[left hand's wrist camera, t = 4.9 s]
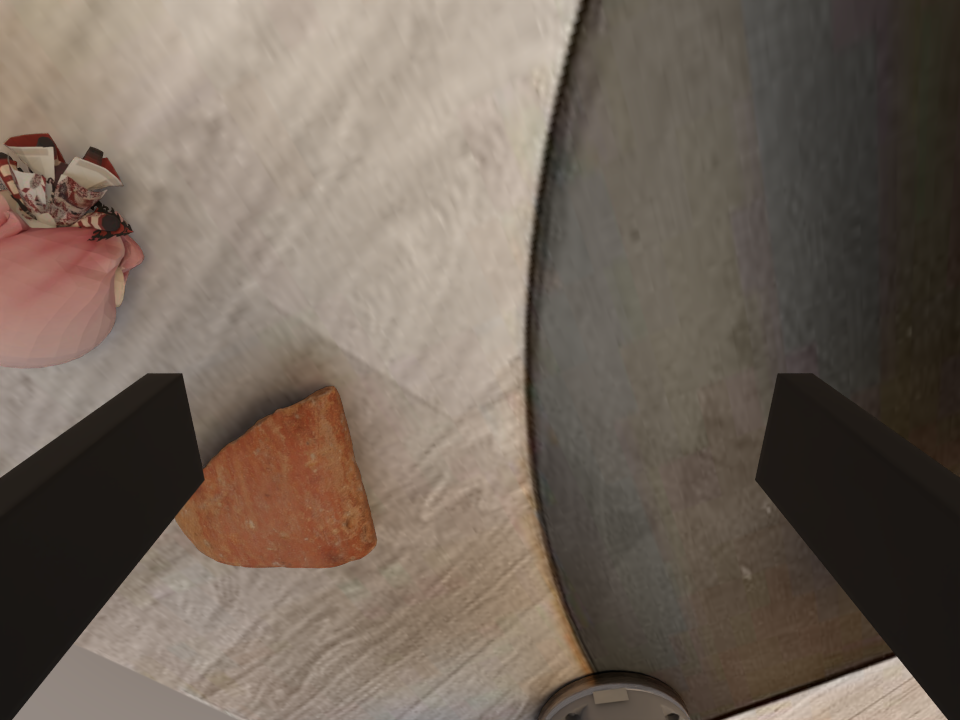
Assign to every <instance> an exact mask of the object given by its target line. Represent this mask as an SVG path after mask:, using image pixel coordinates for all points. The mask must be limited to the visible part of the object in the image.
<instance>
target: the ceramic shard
mask: <svg viewBox="0 0 960 720" xmlns="http://www.w3.org/2000/svg"><path fill="white" fill-rule="evenodd" d="M203 473H204V478H205V480H204V482H203V483H202V484H201V485H200V487H199V488H198V489H197V490H196V492H195V493H194V494H193V495H192V497H191V498H190V499H189V500H188V502H187V503H186V504H185V505H184V506H183V508H182V509H181V510H180V511H179V513H178V514H177V515H176V516H175V519H176V522H177V524H178V525H179V526H180V528H181V529H182V531H183V532H184V534H185V535H186V536H187V537H188V538H189V539H190V540H191V541H192V543H193V544H194V545H195V546H196V548H197V549H198V550H199V551H201V552H202V553H203V554H205V555H206V556H208V557H210V558H212V559H214V560H216V561H218V562H221V563H224V564H228V565H233V566H243V567H252V568H265V567H287V568H330V567H336V566H339V565H342V564H345V563H347V562H350V561H354V560H358V559H361V558H363V557H364V556H366V555H367V554H368V553H370V552H371V551H372V550H373V549H374V547H375V546H376V543H377V537H376V533H375V529H374V525H373V520H372V517H371V512H370V508H369V504H368V500H367V496H366V493H365V490H364V486H363V483H362V481H361V474H360V471H359V468H358V466H357V464H356V461H355V457H354V452H353V447H352V441H351V437H350V433H349V429H348V425H347V421H346V418H345V414H344V410H343V406H342V402H341V398H340V395H339V393H338V391H337V389H336V388H335V387H334V386H328V387H325V388H323V389H320V390H318V391H316V392H314V393H313V394H311V395H309V396H308V397H307V398H306V399H303V400H301V401H299V402H297V403H295V404H294V405H291V406H289V407H286V408H283V409H277V410H276V411H275V412H274V413H273V414H271V415H267V416H266V417H264V418H262V419H260V420H258V421H257V422H256V423H255V425H254V426H252V427H251V428H250V429H248V430H247V431H246V433H245V434H244V435H242V436H240V437H239V438H238V439H237V440H235V441H232V442H230V443H229V444H228V445H226V446H225V447H224V448H223V449H221V450H220V452H219V453H218V454H217V455H216V456H214V457H213V458H212V459H211V460H210V461H209V463H208V464H207V465H206V467H205V468H204V469H203Z"/></svg>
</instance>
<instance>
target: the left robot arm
mask: <svg viewBox="0 0 960 720" xmlns="http://www.w3.org/2000/svg"><path fill="white" fill-rule="evenodd" d="M204 480H205V478H204V473H203V469H202V464H201V459H200V455H199V450H198V445H197V441H196V436H195V431H194V426H193V422H192V417H191V412H190V408H189V403H188V398H187V394H186V389H185V384H184V379H183V375H182V373H147V374H146V375H145V376H143V377H142V378H140V379H139V380H138V381H136V382H135V383H133V384H132V385H131V386H129V387H128V388H126V389H125V390H123V391H122V392H121V393H119V394H118V395H116V396H115V397H114V398H112V399H111V400H109V401H108V402H107V403H105V404H104V405H102V406H101V407H100V408H98V409H97V410H95V411H94V412H92V413H91V414H90V415H88V416H87V417H85V418H84V419H83V420H81V421H80V422H78V423H77V424H76V425H74V426H73V427H71V428H70V429H68V430H67V431H66V432H64V433H63V434H61V435H60V436H59V437H57V438H56V439H54V440H53V441H52V442H50V443H49V444H47V445H46V446H45V447H43V448H42V449H40V450H39V451H37V452H36V453H35V454H33V455H32V456H30V457H29V458H28V459H26V460H25V461H23V462H22V463H21V464H19V465H18V466H16V467H15V468H13V469H12V470H11V471H9V472H8V473H6V474H5V475H4V476H2V477H1V478H0V720H12V719H13V718H14V717H15V715H16V714H17V713H18V712H19V710H20V709H21V708H22V707H23V705H24V704H25V703H26V702H27V701H28V699H29V698H30V697H31V696H32V694H33V693H34V692H35V691H36V689H37V688H38V687H39V686H40V684H41V683H42V682H43V681H44V679H45V678H46V677H47V676H48V674H49V673H50V672H51V671H52V669H53V668H54V667H55V666H56V664H57V663H58V662H59V661H60V659H61V658H62V657H63V656H64V654H65V653H66V652H67V651H68V649H69V648H70V647H71V646H72V645H73V643H74V642H75V641H76V640H77V638H78V637H79V636H80V635H81V633H82V632H83V631H84V630H85V628H86V627H87V626H88V625H89V623H90V622H91V621H92V620H93V618H94V617H95V616H96V615H97V613H98V612H99V611H100V610H101V608H102V607H103V606H104V605H105V604H106V602H107V601H108V600H109V599H110V597H111V596H112V595H113V594H114V592H115V591H116V590H117V589H118V587H119V586H120V585H121V584H122V582H123V581H124V580H125V579H126V577H127V576H128V575H129V574H130V572H131V571H132V570H133V569H134V567H135V566H136V565H137V564H138V562H139V561H140V560H141V559H142V557H143V556H144V555H145V554H146V553H147V551H148V550H149V549H150V548H151V546H152V545H153V544H154V543H155V541H156V540H157V539H158V538H159V536H160V535H161V534H162V533H163V531H164V530H165V529H166V528H167V526H168V525H169V524H170V523H171V521H172V520H173V519H174V518H175V516H176V515H177V514H178V513H179V511H180V510H181V509H182V508H183V506H184V505H185V504H186V503H187V502H188V500H189V499H190V498H191V497H192V495H193V494H194V493H195V492H196V490H197V489H198V488H199V487H200V485H201V484H202V483H203V482H204ZM755 480H756V482H757V483H758V484H759V485H760V487H761V488H762V489H763V490H764V492H765V493H766V494H767V495H768V497H769V498H770V499H771V500H772V502H773V503H774V504H775V505H776V506H777V508H778V509H779V510H780V511H781V513H782V514H783V515H784V516H785V518H786V519H787V520H788V521H789V523H790V524H791V525H792V526H793V528H794V529H795V530H796V531H797V533H798V534H799V535H800V536H801V538H802V539H803V540H804V541H805V543H806V544H807V545H808V546H809V548H810V549H811V550H812V551H813V553H814V554H815V555H816V556H817V557H818V559H819V560H820V561H821V562H822V564H823V565H824V566H825V567H826V569H827V570H828V571H829V572H830V574H831V575H832V576H833V577H834V579H835V580H836V581H837V582H838V584H839V585H840V586H841V587H842V589H843V590H844V591H845V592H846V594H847V595H848V596H849V597H850V599H851V600H852V601H853V602H854V604H855V605H856V606H857V607H858V608H859V610H860V611H861V612H862V613H863V615H864V616H865V617H866V618H867V620H868V621H869V622H870V623H871V625H872V626H873V627H874V628H875V630H876V631H877V632H878V633H879V635H880V636H881V637H882V638H883V640H884V641H885V642H886V643H887V645H888V646H889V647H890V648H891V650H892V651H893V652H894V653H895V654H896V656H897V657H898V658H899V659H900V661H901V662H902V663H903V664H904V666H905V667H906V668H907V669H908V671H909V672H910V673H911V674H912V676H913V677H914V678H915V679H916V681H917V682H918V683H919V684H920V686H921V687H922V688H923V689H924V691H925V692H926V693H927V694H928V696H929V697H930V698H931V699H932V701H933V702H934V703H935V704H936V705H937V707H938V708H939V709H940V710H941V712H942V713H943V714H944V715H945V717H946V718H947V719H948V720H960V478H959V477H958V476H956V475H955V474H954V473H952V472H951V471H949V470H948V469H947V468H945V467H944V466H942V465H941V464H939V463H938V462H937V461H935V460H934V459H932V458H931V457H930V456H928V455H927V454H925V453H924V452H923V451H921V450H920V449H918V448H917V447H915V446H914V445H913V444H911V443H910V442H908V441H907V440H906V439H904V438H903V437H901V436H900V435H899V434H897V433H896V432H894V431H893V430H892V429H890V428H889V427H887V426H886V425H884V424H883V423H882V422H880V421H879V420H877V419H876V418H875V417H873V416H872V415H870V414H869V413H868V412H866V411H865V410H863V409H862V408H860V407H859V406H858V405H856V404H855V403H853V402H852V401H851V400H849V399H848V398H846V397H845V396H844V395H842V394H841V393H839V392H838V391H837V390H835V389H834V388H832V387H831V386H829V385H828V384H827V383H825V382H824V381H822V380H821V379H820V378H818V377H817V376H815V375H814V374H813V373H778V375H777V379H776V384H775V389H774V394H773V398H772V403H771V408H770V412H769V417H768V422H767V426H766V431H765V436H764V441H763V445H762V450H761V455H760V459H759V464H758V469H757V473H756V478H755ZM538 720H690V717H689V714H688V711H687V709H686V706H685V704H684V702H683V700H682V699H681V697H680V696H679V695H678V694H677V693H676V692H675V691H674V690H673V689H672V688H671V687H669V686H668V685H666V684H664V683H663V682H661V681H659V680H657V679H654V678H651V677H649V676H645V675H641V674H636V673H627V672H610V673H602V674H596V675H592V676H588V677H585V678H582V679H579V680H577V681H575V682H573V683H571V684H569V685H567V686H565V687H564V688H562V689H561V690H559V691H558V692H556V693H555V694H554V695H553V696H552V697H551V698H550V699H549V700H548V701H547V702H546V704H545V705H544V707H543V708H542V710H541V712H540V714H539V717H538Z"/></svg>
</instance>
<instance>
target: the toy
mask: <svg viewBox="0 0 960 720" xmlns="http://www.w3.org/2000/svg"><path fill="white" fill-rule="evenodd" d="M4 145H5V146H7V147H8V148H10V149H11V150H12V151H13V152H14V153H15V154H16V155H17V156H18V157H19V158H20V159H21V160H22V161H23V162H24V163H25V164H26V165H27V166H28V168H29V171H30V173H25V172H23V171H22V169H21V168H17V162H16V161H13V160H12V158H11V157H10V156H9V154H8V155H7V154H5V153H2V152H0V180H1V182H2V183H3V185H4V186H5V187H6V188H7V189H8V190H1V191H0V366H4V367H13V368H42V367H47V366H53V365H59V364H63V363H66V362H69V361H71V360H74V359H77V358H79V357H81V356H83V355H84V354H86V353H88V352H89V351H91V350H92V349H94V348H95V347H96V346H98V345H99V344H100V343H101V342H102V341H103V340H104V339H105V338H106V336H107V335H108V334H109V333H110V332H111V330H112V327H113V325H114V323H115V317H116V307H119V306H120V305H121V303H122V300H123V296H124V292H125V284H126V281H127V277H128V274H129V270H130V269H132V268H134V267H136V266H138V265H139V264H141V262H142V261H143V259H144V255H143V252H142V250H141V249H140V247H139V245H138V244H137V243H136V242H135V241H134V240H133V239H132V238H130V237H129V236H128V235H127V234H129V233H132V232H133V231H132V229H131V227H130V225H129V224H128V225H127V223H126V222H125V220H124V219H123V218H122V217H121V215H120V214H119V213H118V212H117V211H116V212H114V209H113V208H112V207H111V208H112V210H111V212H107V210H109V209H108V207H106V206H104V205H103V206H102V204H101V202H100V201H99V200H100V199H101V198H102V196H103V195H104V194H105V193H106V191H107V190H105V191H102V192H92V191H94V190H96V189H102V188H105V187H106V186H109V187H111V186H123V184H122V182H121V180H120V178H119V176H118V174H117V173H116V171H115V169H114V167H113V166H112V164H111V163H110V161H109V160H108V158H103V152H102V151H100V150H98V149H96V148H94V147H90V148H89V149H88V151H87V153H86V154H85V156H84V158H83V159H81V158H78V157H75V158H74V159H73V160H72V162H71V163H70V164H69V165H68V164H66V163H65V160H64V158H63V156H62V154H61V152H60V151H59V149H58V147H57V146H56V144H55V143H54V141H53V140H52V138H51V137H50V135H49V134H48V133H42V134H27V135H19V136H15V137H10V138H8V139H7V141H6V142H5V143H4ZM95 206H97V207H98V208H96V210H95V211H94V212H92V213H86V212H87V210H89V209H90V208H91V209H92V210H94V207H95ZM103 208H106V211H105V210H103ZM85 213H86V214H85ZM128 229H129V230H128Z"/></svg>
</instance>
